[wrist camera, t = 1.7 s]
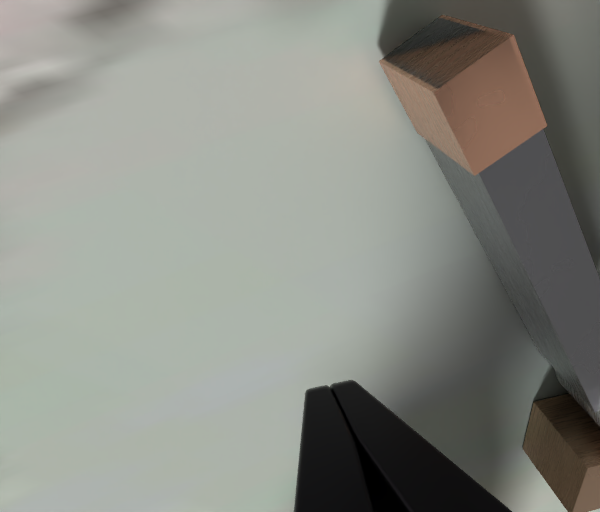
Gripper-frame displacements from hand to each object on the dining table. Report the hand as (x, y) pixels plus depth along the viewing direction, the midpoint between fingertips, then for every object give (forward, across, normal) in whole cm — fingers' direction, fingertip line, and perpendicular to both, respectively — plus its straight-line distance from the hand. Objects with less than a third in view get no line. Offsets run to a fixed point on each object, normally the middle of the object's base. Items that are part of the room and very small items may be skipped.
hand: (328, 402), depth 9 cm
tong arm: (+6, -7, +1) cm, 10 cm away
